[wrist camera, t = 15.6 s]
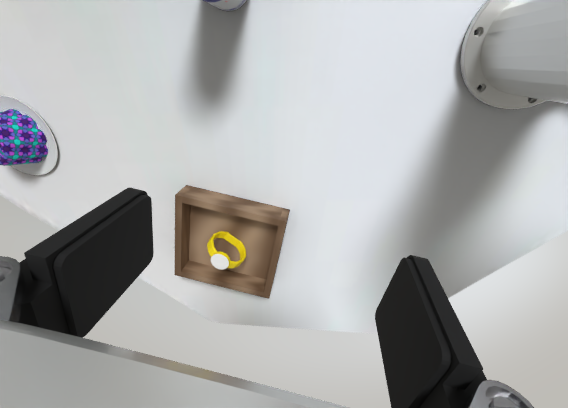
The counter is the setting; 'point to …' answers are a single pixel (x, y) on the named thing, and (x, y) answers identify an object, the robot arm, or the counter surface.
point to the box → (239, 223)
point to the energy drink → (226, 4)
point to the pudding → (25, 139)
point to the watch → (221, 258)
